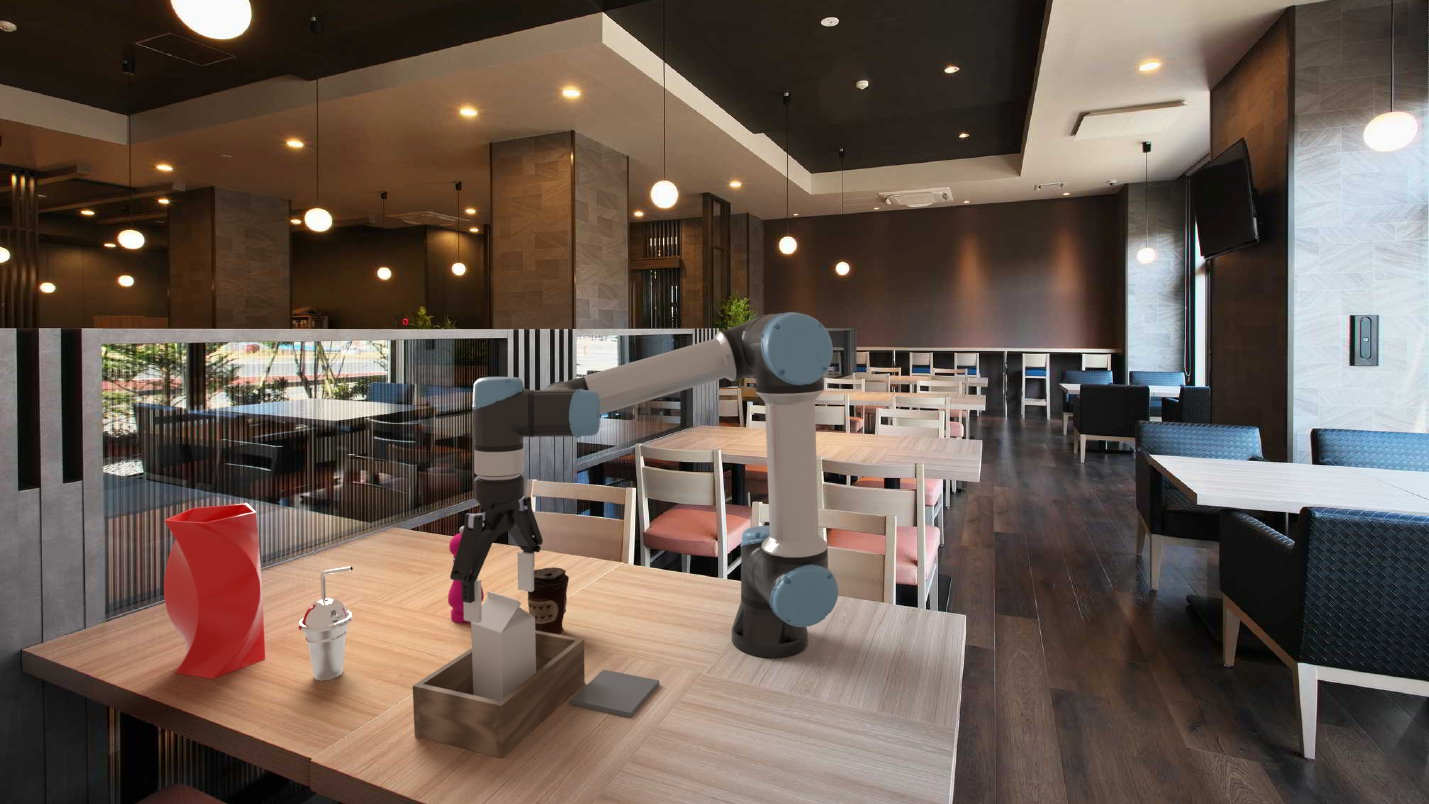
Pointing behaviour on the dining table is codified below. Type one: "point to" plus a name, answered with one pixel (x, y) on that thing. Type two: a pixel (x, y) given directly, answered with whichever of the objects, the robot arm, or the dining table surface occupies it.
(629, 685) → the coaster
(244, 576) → the vase
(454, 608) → the pepper mill
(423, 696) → the crate
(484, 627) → the milk carton
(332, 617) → the cup with straw
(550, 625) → the coffee cup
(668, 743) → the dining table surface
